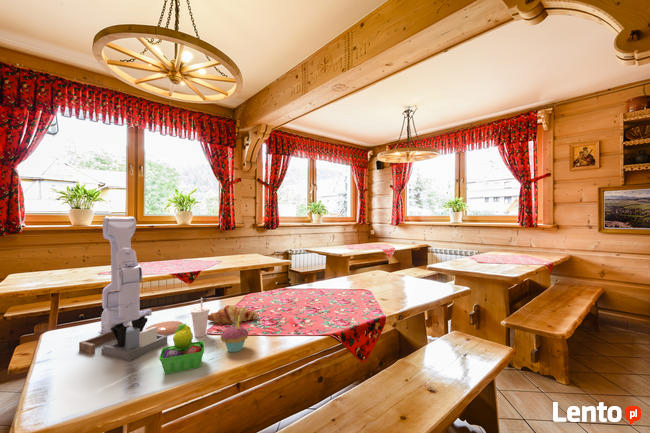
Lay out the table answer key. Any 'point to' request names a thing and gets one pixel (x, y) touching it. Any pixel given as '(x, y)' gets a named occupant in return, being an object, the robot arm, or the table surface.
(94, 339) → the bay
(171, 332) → the plate
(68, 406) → the table surface
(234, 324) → the figurine
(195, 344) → the fruit basket
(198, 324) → the smoothie
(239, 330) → the cupcake
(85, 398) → the table surface
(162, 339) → the grey square tray
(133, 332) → the grey block
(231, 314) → the croissant
